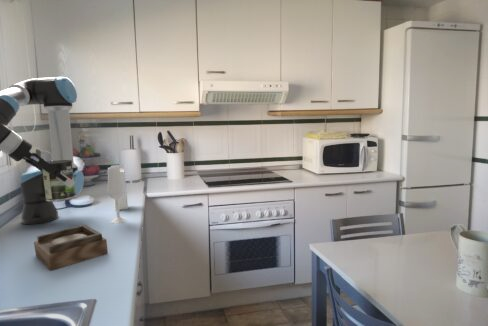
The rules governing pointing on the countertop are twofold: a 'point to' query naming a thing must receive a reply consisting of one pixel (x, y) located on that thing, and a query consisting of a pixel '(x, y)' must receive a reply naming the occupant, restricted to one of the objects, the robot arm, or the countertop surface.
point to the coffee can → (55, 187)
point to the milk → (123, 199)
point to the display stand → (69, 246)
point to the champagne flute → (115, 190)
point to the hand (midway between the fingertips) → (68, 183)
